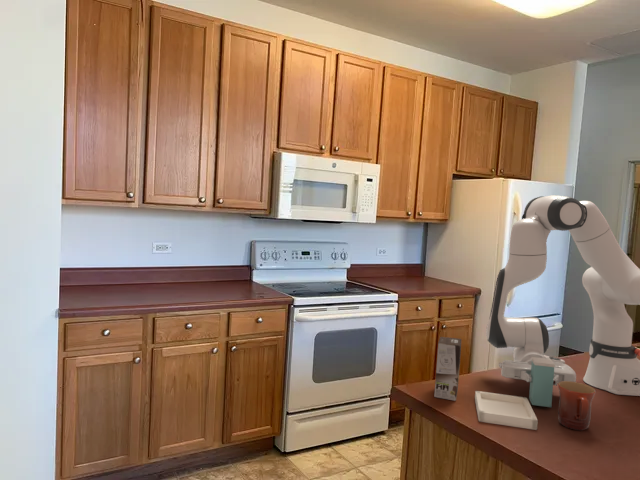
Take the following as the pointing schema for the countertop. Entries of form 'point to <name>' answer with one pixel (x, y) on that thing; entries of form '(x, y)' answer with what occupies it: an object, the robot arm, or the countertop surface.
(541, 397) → the tea tin
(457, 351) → the coffee box
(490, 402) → the tray
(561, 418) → the mug
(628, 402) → the countertop surface
